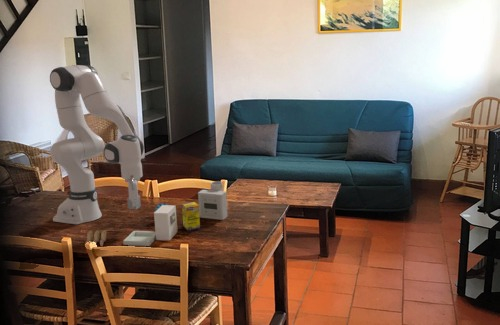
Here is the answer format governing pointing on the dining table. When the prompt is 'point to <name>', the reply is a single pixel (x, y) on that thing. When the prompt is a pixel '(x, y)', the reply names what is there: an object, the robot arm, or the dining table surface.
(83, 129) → the robot arm
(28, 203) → the dining table surface
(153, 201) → the dining table surface
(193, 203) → the supplement box
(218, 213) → the thermostat
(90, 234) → the ammunition
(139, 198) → the relay block
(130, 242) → the tray
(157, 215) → the box
